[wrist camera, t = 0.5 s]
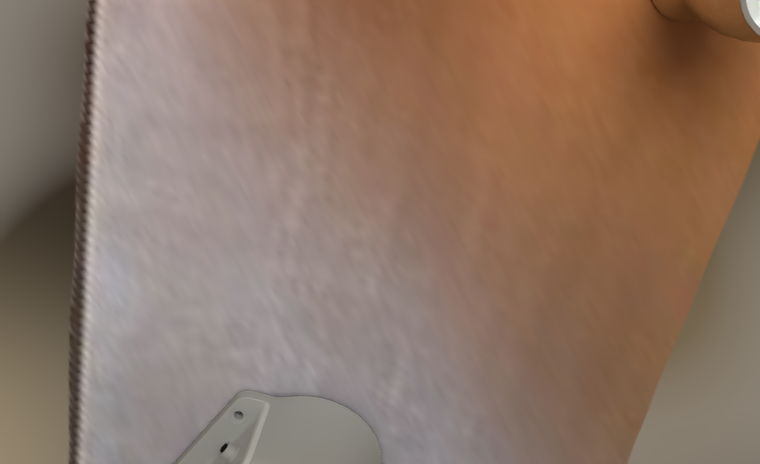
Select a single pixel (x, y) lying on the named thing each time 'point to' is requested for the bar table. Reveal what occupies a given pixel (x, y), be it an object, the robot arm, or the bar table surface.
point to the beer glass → (717, 15)
